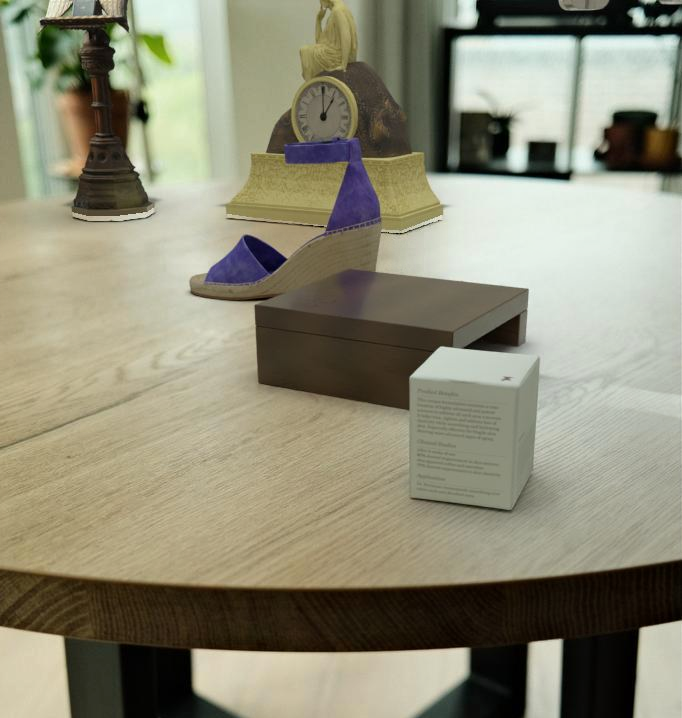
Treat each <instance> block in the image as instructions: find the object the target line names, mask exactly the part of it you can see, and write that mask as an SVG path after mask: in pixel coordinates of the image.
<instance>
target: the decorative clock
mask: <svg viewBox="0 0 682 718" xmlns="http://www.w3.org/2000/svg"><path fill="white" fill-rule="evenodd" d="M319 4H320V9H319V10H318V12H317V14H316V17H315V28H314V29H315V31H314V38H315V44H304V45H302V46H300V47H299V50H298V52H299V53H298V54H299V58H300V65H301V76H302V78H303V80H304V83H303V84H302V85H301V86H300V87H299V88H298V90H297V91H296V93H295V95H294V97H293V100H292V103H291V107H290V108H289V109H287V110H286V112H284V113H283V114H282V115H280V117H279V118H278V120H277V121H276V123H275V124H274V126H273V128H272V131H271V133H270V138H269V140H268V145H267V147H266V150H262V151H257V152H251V153H250V169H249V175H248V178H247V180H246V182H245V183H244V186H243V187H242V188H241V190H240V191H239V192H238V193H236V194H235V196H233V198H232V199H231V200H230V201H229V202H228V203H225V213H226V214H232V215H239V216H246V217H253V218H264V219H271V220H282V221H293V222H301V223H308V224H318V225H327V224H328V221H329V218H330V216H331V213H332V210H333V207H334V204H335V201H336V198H337V195H338V192H339V190H340V187H341V184H342V181H343V178H344V175H345V171H346V168H347V165H348V162H336V163H335V164H286V163H285V153H284V145H285V144H290V143H300V142H311V140H312V139H313V138H331V137H340V139H341V140H342V139H353V138H358V140H359V142H360V146H361V152H362V162H363V164H364V167H365V169H366V172H367V174H368V177H369V179H370V182H371V184H372V186H373V188H374V190H375V192H376V194H377V196H378V200H379V204H380V216H381V219H382V229H385V230H399V231H402V230H404V229H407V228H409V227H412V226H415V225H417V224H420V223H422V222H425V221H428V220H430V219H433V218H435V217H438V216H440V215H443V216H444V204H443V203H441V201H440V199H439V197H438V196H437V194H436V193H435V192H434V191H433V189H432V187H431V186H430V182H429V180H428V178H427V174H426V166H425V152H419V151H413V149H412V146H411V140H410V137H409V132H408V116H407V115H406V113H405V112H404V110H403V108H402V107H401V106H400V104H399V103H398V102H397V101H396V100H395V99H394V98H393V95H392V94H391V92H390V90H389V89H388V88H387V85H386V84H385V83H384V81H383V79H382V77H381V76H380V74H378V73H377V72H376V71H375V70H374V69H373V68H372V67H371V66H370V65H369V64H368V63H367V62H365V61H359V60H358V61H357V59H358V50H359V45H358V44H359V39H358V33H357V24H356V21H355V18H354V16H353V13H352V11H351V9H350V8H349V7H348V6H347V5H346V4H345V3H344V2H343V1H342V0H319ZM328 9H329V11H330V13H329V16H328V17H327V19H326V23H325V27H324V29H323V27H322V21H323V20H324V18H325V16H326V14H327V10H328ZM324 142H327V141H324ZM226 214H225V215H226Z"/></svg>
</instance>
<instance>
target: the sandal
mask: <svg viewBox="0 0 682 718" xmlns="http://www.w3.org/2000/svg"><path fill="white" fill-rule="evenodd" d="M324 141H327V142H324ZM284 153H285V163H286V164H335V163H336V162H348V165H347V168H346V171H345V175H344V178H343V181H342V184H341V187H340V190H339V192H338V195H337V198H336V201H335V204H334V207H333V210H332V213H331V216H330V218H329V221H328V224H327V227H326V228H325V230H324V231H323V233H322V234H318V235H317V236H315V237H313V238H312V239H310V240H308V241H307V242H305V243H304V244H303V245H302V246H300V247H299V248H298V249H296V250H295V251H294V252H293V253H292V254H291V255H290V256H289V257H286V256H284V255H283V254H282V253H281V252H280V251H278V250H277V249H276V248H274V247H273V246H272V245H270V244H269V243H267V242H266V241H264V240H262V239H260V238H258V237H256V236H254V235H251V234H248V233H246V234H242V236H241V237H240V239H239V240H238V242H237V243H236V245H235V246H234V247H233V248H232V249H231V250H230V251H229V252H228V253H227V254H225V255H224V256H223V257H222V258H221V259H220V260H219V261H218V262H216V263H214V264H213V265H212V266H211V267H210V268H209V270H208V271H207V272H204V273H199V274H195V275H192V276H191V277H190V278H189V281H188V282H189V283H188V284H189V288H190V293H192V295H195V296H199V297H205V298H209V299H216V300H217V299H218V300H231V301H240V300H241V301H243V300H245V301H246V300H255V299H262V298H274V297H276V296H279V295H282V294H284V293H287V292H290V291H292V290H295V289H298V288H300V287H303V286H306V285H308V284H311V283H313V282H316V281H319V280H321V279H324V278H327V277H329V276H332V275H335V274H337V273H340V272H343V271H345V270H348V269H354V270H363V271H372V272H377V271H376V270H377V262H378V256H379V249H380V242H381V235H382V233H381V230H382V219H381V216H380V204H379V200H378V196H377V194H376V192H375V190H374V188H373V186H372V184H371V182H370V179H369V177H368V174H367V172H366V169H365V167H364V164H363V162H362V152H361V146H360V142H359V140H358V138H353V139H342V140H341V139H340V137H331V138H313V139H312V140H311V142H300V143H290V144H285V145H284Z"/></svg>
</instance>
